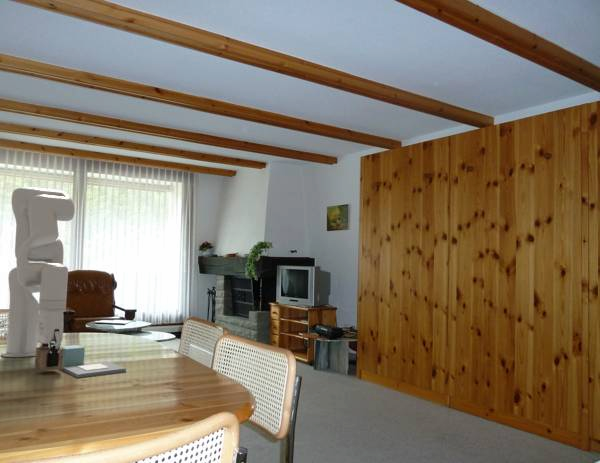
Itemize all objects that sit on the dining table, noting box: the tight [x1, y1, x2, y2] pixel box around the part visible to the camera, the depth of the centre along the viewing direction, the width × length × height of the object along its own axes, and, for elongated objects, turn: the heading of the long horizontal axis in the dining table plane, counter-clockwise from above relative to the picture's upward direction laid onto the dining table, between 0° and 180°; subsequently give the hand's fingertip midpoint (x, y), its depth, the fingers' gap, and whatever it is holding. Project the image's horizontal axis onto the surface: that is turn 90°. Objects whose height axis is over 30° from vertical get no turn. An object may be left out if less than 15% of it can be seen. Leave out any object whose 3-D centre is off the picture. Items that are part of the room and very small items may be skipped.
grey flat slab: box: [59, 360, 127, 379], centre depth 162 cm, size 14×15×1 cm
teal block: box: [60, 344, 85, 366], centre depth 169 cm, size 6×6×6 cm
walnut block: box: [34, 345, 63, 372], centre depth 158 cm, size 6×6×6 cm
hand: (48, 363), depth 158 cm, fingers closed on walnut block, 6 cm apart
